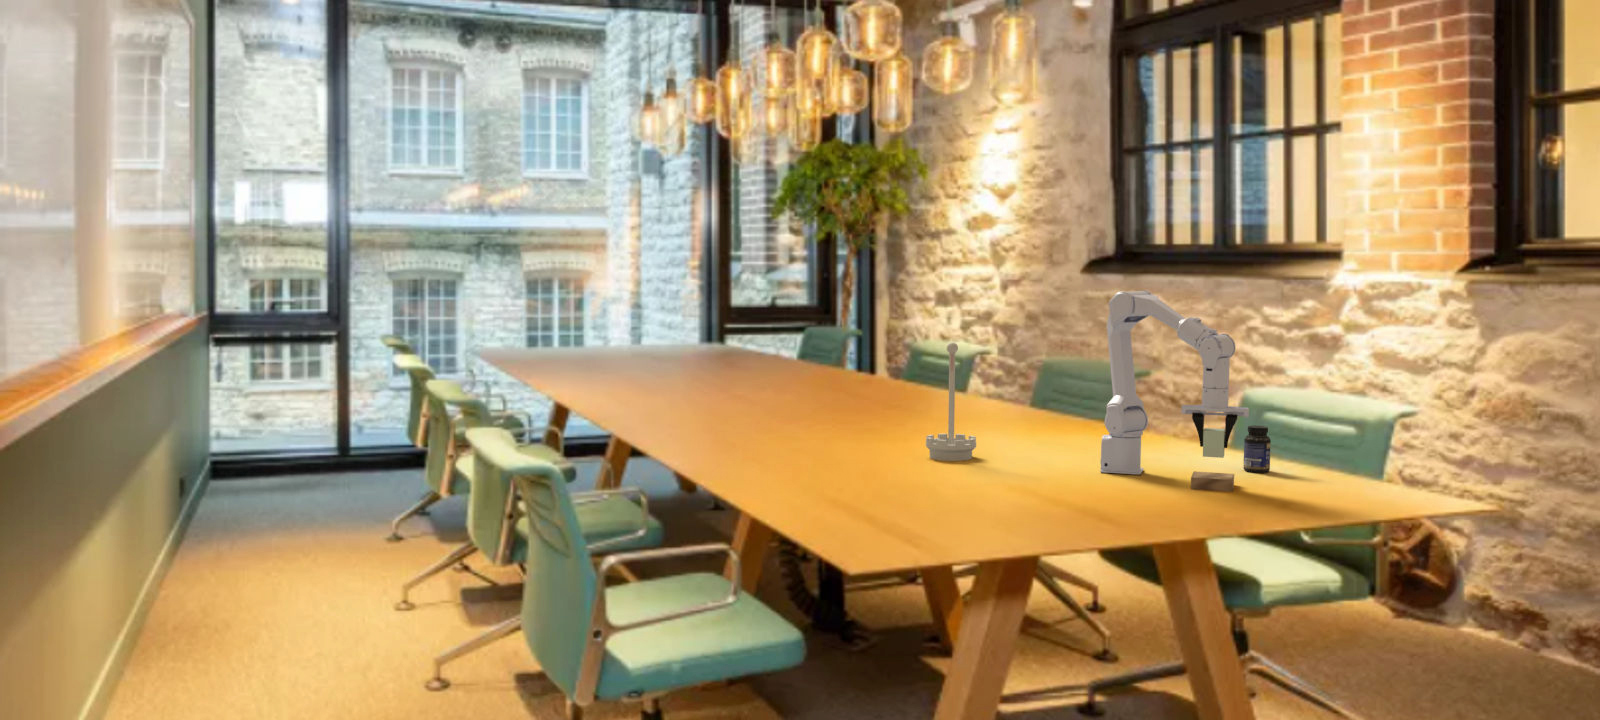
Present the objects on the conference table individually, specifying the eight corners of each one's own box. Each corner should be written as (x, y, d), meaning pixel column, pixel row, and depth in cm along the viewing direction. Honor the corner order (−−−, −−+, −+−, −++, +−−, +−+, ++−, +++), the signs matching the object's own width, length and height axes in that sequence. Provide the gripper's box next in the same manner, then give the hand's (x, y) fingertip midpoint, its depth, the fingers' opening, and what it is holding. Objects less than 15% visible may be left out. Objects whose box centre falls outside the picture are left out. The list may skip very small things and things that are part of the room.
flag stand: (926, 452, 346) (927, 340, 343) (976, 454, 344) (977, 341, 341) (924, 461, 333) (925, 344, 330) (975, 462, 331) (977, 344, 328)
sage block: (1202, 456, 296) (1203, 430, 296) (1203, 453, 300) (1204, 428, 300) (1223, 457, 294) (1224, 431, 294) (1224, 454, 299) (1225, 429, 298)
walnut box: (1190, 490, 295) (1191, 477, 295) (1193, 484, 304) (1193, 471, 303) (1232, 493, 292) (1232, 480, 292) (1233, 486, 301) (1234, 473, 300)
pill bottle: (1271, 473, 315) (1273, 428, 314) (1245, 472, 317) (1246, 427, 316) (1267, 469, 321) (1269, 425, 320) (1241, 468, 323) (1243, 424, 322)
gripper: (1181, 388, 295) (1179, 447, 296) (1248, 390, 290) (1246, 451, 291) (1183, 384, 301) (1181, 443, 302) (1249, 387, 296) (1247, 446, 297)
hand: (1213, 446), depth 297 cm, fingers closed on sage block, 4 cm apart
